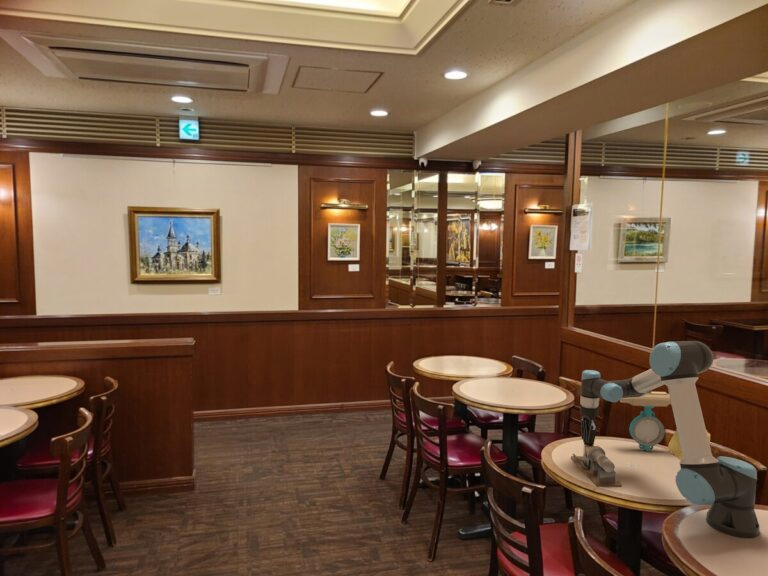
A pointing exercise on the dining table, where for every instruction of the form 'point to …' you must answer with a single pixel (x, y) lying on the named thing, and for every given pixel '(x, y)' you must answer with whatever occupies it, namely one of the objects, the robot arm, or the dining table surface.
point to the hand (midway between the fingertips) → (586, 457)
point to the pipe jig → (598, 468)
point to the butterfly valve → (647, 419)
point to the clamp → (678, 445)
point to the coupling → (586, 459)
